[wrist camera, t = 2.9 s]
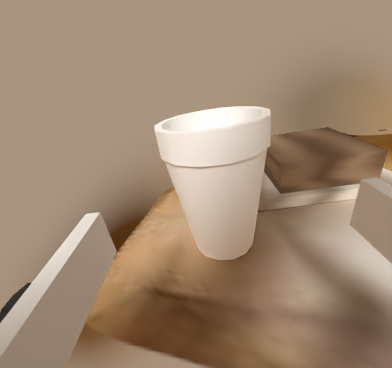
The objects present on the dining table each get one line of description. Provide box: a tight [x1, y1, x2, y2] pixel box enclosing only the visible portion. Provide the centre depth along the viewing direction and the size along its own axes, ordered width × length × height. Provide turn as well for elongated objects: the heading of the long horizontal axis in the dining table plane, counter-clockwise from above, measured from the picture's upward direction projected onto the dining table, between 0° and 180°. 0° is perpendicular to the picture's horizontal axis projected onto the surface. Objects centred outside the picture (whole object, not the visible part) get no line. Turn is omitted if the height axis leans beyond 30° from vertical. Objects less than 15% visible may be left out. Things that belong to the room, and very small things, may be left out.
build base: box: [258, 127, 392, 211], centre depth 31 cm, size 18×14×6 cm
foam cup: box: [155, 106, 271, 260], centre depth 20 cm, size 10×9×13 cm
